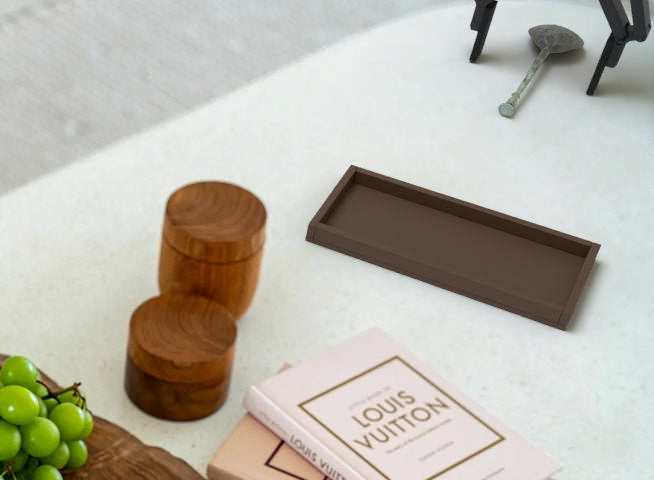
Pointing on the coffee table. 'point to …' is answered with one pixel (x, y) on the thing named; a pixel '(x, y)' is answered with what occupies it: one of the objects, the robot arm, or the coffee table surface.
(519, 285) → the cutlery tray
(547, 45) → the soupspoon
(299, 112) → the coffee table surface
